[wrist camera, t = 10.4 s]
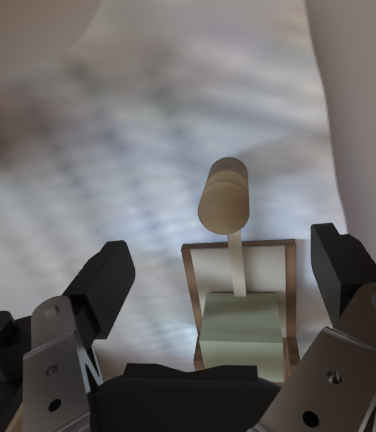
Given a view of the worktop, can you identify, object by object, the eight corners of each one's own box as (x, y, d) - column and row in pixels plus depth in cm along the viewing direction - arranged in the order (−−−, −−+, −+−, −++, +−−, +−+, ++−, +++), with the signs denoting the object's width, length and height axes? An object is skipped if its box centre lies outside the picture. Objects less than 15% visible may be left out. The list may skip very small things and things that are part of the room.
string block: (184, 161, 24) (164, 193, 18) (270, 152, 23) (281, 183, 16) (212, 327, 32) (205, 388, 26) (276, 328, 31) (285, 393, 25)
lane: (182, 244, 30) (173, 271, 26) (294, 239, 27) (303, 267, 23) (212, 398, 41) (209, 434, 37) (294, 404, 38) (299, 443, 34)
